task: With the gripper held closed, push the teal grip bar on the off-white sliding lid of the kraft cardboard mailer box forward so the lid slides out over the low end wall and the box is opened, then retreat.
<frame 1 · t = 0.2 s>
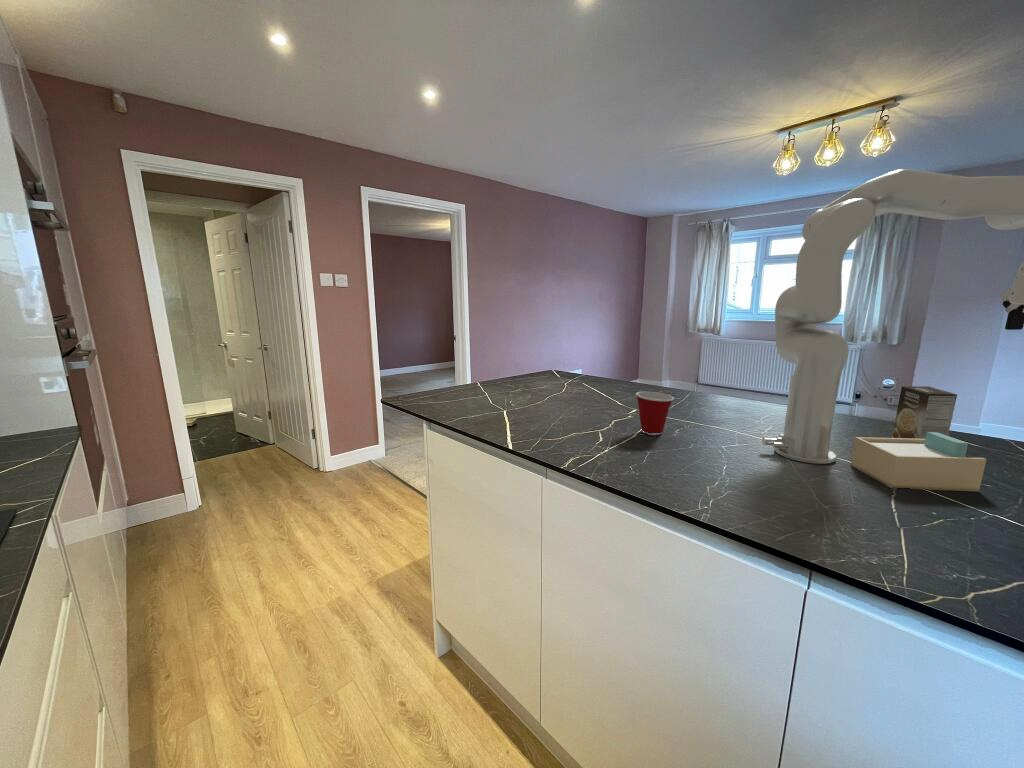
mailer box: (909, 477, 88), on the counter
coffee box: (916, 450, 103), on the counter
plastic cup: (652, 433, 120), on the counter
lid: (916, 445, 86), point 7 cm above the counter, slide at 0.0 cm
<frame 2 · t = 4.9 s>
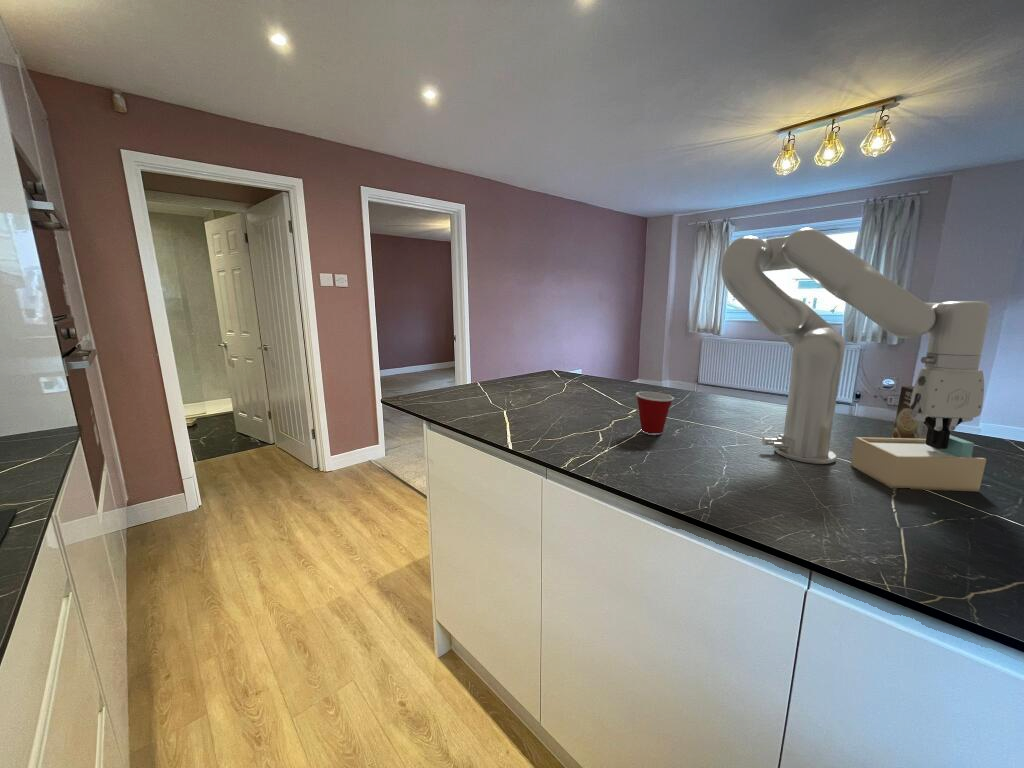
hand: (936, 446, 85), 7 cm above the counter, tool pointing down, fingers closed
lid: (921, 445, 86), point 7 cm above the counter, slide at 1.1 cm, touching gripper
everything else where it was.
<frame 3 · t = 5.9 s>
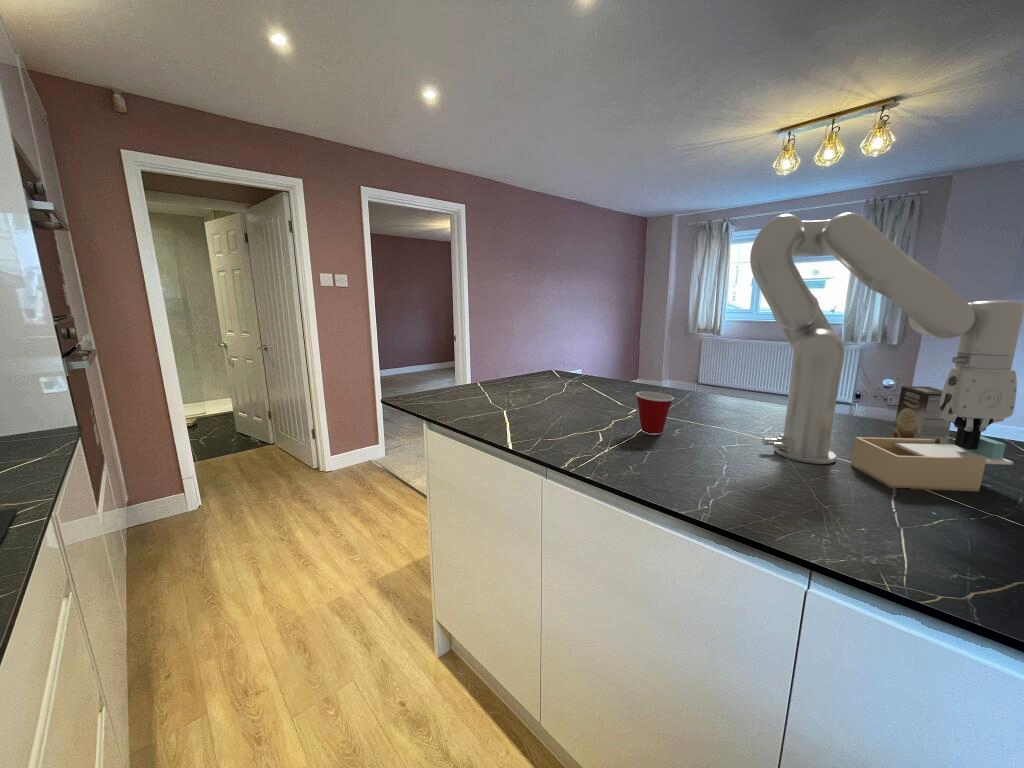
hand: (965, 447, 85), 7 cm above the counter, tool pointing down, fingers closed
lid: (951, 445, 85), point 7 cm above the counter, slide at 6.7 cm, touching gripper
everything else where it was.
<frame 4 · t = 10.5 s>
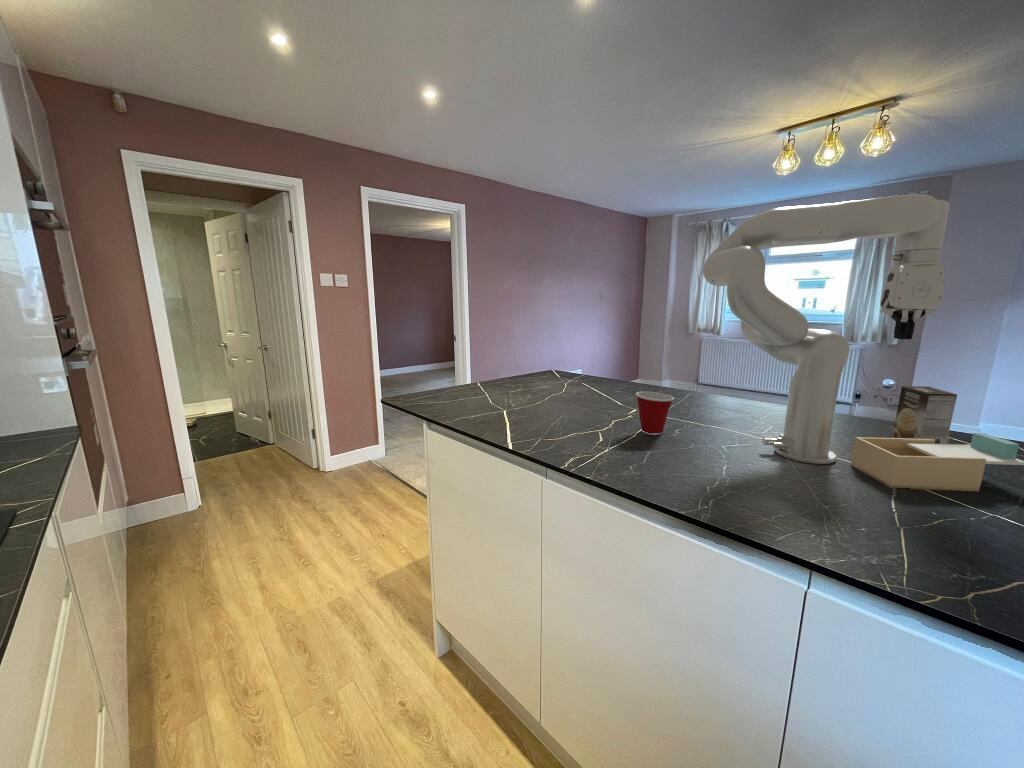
hand: (902, 338, 96), 29 cm above the counter, tool pointing down, fingers closed
lid: (963, 446, 85), point 7 cm above the counter, slide at 9.0 cm
everything else where it was.
at the end: lid slide at 9.0 cm; lid touching nothing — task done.
